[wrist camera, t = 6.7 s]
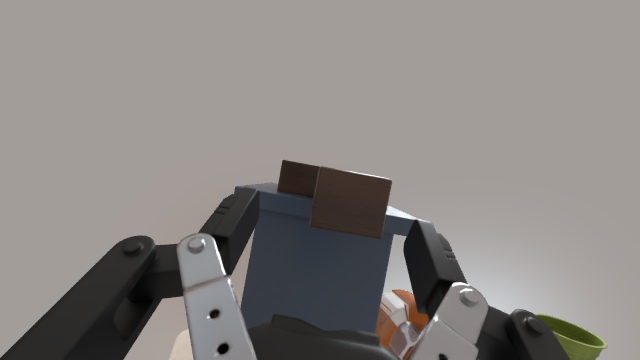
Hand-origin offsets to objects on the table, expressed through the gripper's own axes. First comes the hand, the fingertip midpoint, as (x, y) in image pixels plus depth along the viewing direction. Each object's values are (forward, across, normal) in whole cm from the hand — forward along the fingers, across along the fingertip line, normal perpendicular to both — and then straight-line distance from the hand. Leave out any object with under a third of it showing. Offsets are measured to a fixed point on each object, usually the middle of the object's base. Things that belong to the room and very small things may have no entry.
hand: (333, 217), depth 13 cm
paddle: (+8, 0, +5) cm, 9 cm away
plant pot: (+20, -57, +49) cm, 78 cm away
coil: (+14, -19, +45) cm, 51 cm away
